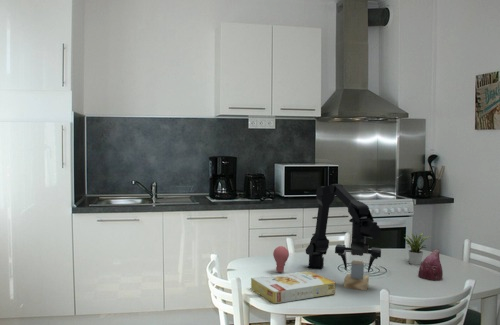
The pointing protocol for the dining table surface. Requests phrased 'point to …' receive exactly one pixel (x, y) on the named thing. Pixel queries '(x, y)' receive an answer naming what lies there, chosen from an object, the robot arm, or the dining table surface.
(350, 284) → the block
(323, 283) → the cereal box
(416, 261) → the house plant
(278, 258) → the light bulb
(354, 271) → the grey box
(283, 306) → the dining table surface
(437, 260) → the vegetable
